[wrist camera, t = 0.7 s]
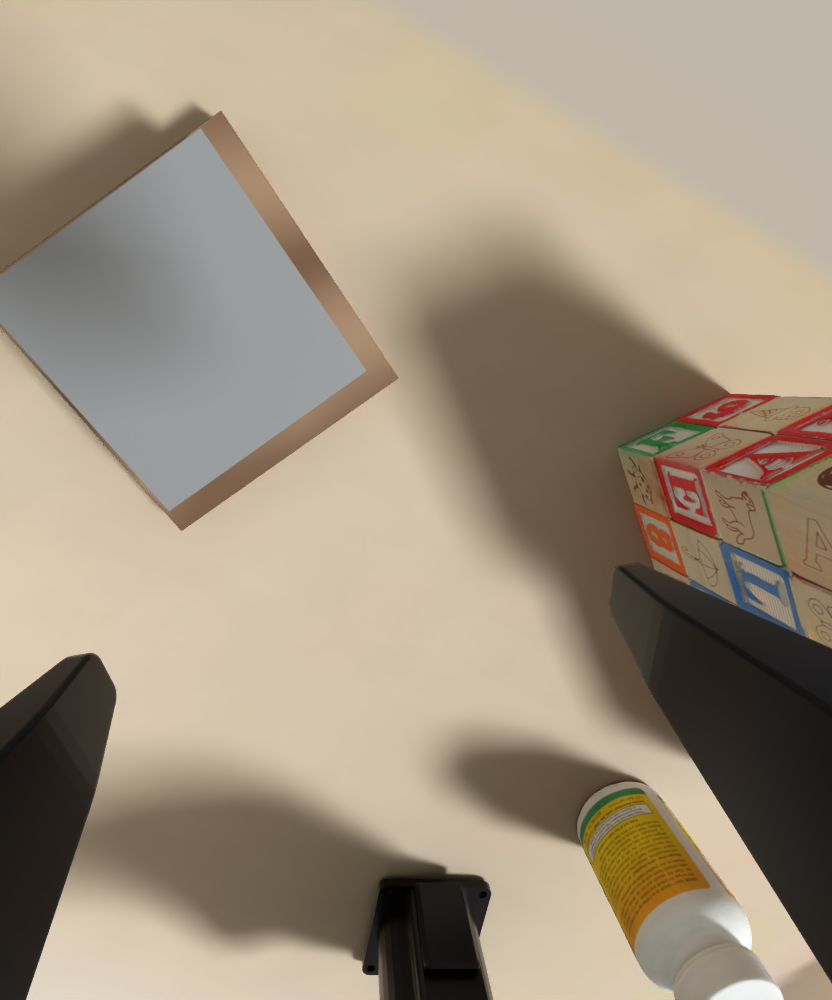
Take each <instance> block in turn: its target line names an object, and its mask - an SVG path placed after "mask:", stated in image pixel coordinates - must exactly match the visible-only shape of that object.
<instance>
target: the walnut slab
mask: <svg viewBox="0 0 832 1000" xmlns="http://www.w3.org/2000/svg"><path fill="white" fill-rule="evenodd" d="M200 128H201V130H202V131H203V132H204V134H205V135H206V137H207V138H208V140H209V141H210V143H211V144H212V146H213V147H214V149H215V150H216V151H217V153H218V154H219V156H220V157H221V159H222V160H223V162H224V163H225V165H226V166H227V168H228V169H229V170H230V172H231V173H232V175H233V176H234V178H235V179H236V181H237V182H238V184H239V185H240V187H241V188H242V189H243V191H244V192H245V194H246V195H247V197H248V198H249V200H250V201H251V203H252V204H253V206H254V207H255V208H256V210H257V211H258V213H259V214H260V216H261V217H262V219H263V220H264V222H265V223H266V225H267V226H268V227H269V229H270V230H271V232H272V233H273V235H274V236H275V238H276V239H277V241H278V242H279V244H280V245H281V246H282V248H283V249H284V251H285V252H286V254H287V255H288V257H289V258H290V260H291V261H292V263H293V264H294V265H295V267H296V268H297V270H298V271H299V273H300V274H301V276H302V277H303V279H304V280H305V282H306V283H307V284H308V286H309V287H310V289H311V290H312V292H313V293H314V295H315V296H316V298H317V299H318V301H319V302H320V303H321V305H322V306H323V308H324V309H325V311H326V312H327V314H328V315H329V317H330V318H331V320H332V321H333V322H334V324H335V325H336V327H337V328H338V330H339V331H340V333H341V334H342V336H343V337H344V339H345V340H346V341H347V343H348V344H349V346H350V347H351V349H352V350H353V352H354V353H355V355H356V356H357V358H358V359H359V360H360V362H361V363H362V365H363V366H364V368H365V369H366V372H364V373H363V374H362V375H360V376H359V377H357V378H356V379H355V380H353V381H352V382H350V383H349V384H348V385H346V386H345V387H343V388H342V389H340V390H339V391H338V392H336V393H335V394H333V395H332V396H331V397H329V398H328V399H326V400H325V401H324V402H322V403H321V404H319V405H318V406H317V407H315V408H314V409H312V410H311V411H310V412H308V413H307V414H305V415H304V416H303V417H301V418H300V419H298V420H297V421H295V422H294V423H293V424H291V425H290V426H288V427H287V428H286V429H284V430H283V431H281V432H280V433H279V434H277V435H276V436H274V437H273V438H272V439H270V440H269V441H267V442H266V443H265V444H263V445H262V446H260V447H259V448H258V449H256V450H255V451H253V452H252V453H250V454H249V455H248V456H246V457H245V458H243V459H242V460H241V461H239V462H238V463H236V464H235V465H234V466H232V467H231V468H229V469H228V470H227V471H225V472H224V473H222V474H221V475H220V476H218V477H217V478H215V479H214V480H213V481H211V482H210V483H208V484H207V485H205V486H204V487H203V488H201V489H200V490H198V491H197V492H196V493H194V494H193V495H191V496H190V497H189V498H187V499H186V500H184V501H183V502H182V503H180V504H179V505H177V506H176V507H175V508H173V509H172V510H170V511H168V510H167V509H166V508H165V506H164V505H163V504H162V503H161V502H160V501H159V500H158V499H157V498H156V496H155V495H154V494H153V493H152V492H151V491H150V490H149V489H148V487H147V486H146V485H145V484H144V483H143V482H142V481H141V480H140V479H139V477H138V476H137V475H136V474H135V473H134V472H133V471H132V470H131V468H130V467H129V466H128V465H127V464H126V463H125V462H124V461H123V460H122V458H121V457H120V456H119V455H118V454H117V453H116V452H115V451H114V450H113V448H112V447H111V446H110V445H109V444H108V443H107V442H106V441H105V439H104V438H103V437H102V436H101V435H100V434H99V433H98V432H97V431H96V429H95V428H94V427H93V426H92V425H91V424H90V423H89V422H88V420H87V419H86V418H85V417H84V416H83V415H82V414H81V413H80V412H79V410H78V409H77V408H76V407H75V406H74V405H73V404H72V403H71V401H70V400H69V399H68V398H67V397H66V396H65V395H64V394H63V393H62V391H61V390H60V389H59V388H58V387H57V386H56V385H55V384H54V382H53V381H52V380H51V379H50V378H49V377H48V376H47V375H46V374H45V372H44V371H43V370H42V369H41V368H40V367H39V366H38V365H37V363H36V362H35V361H34V360H33V359H32V358H31V357H30V356H29V355H28V353H27V352H26V351H25V350H24V349H23V348H22V347H21V346H20V344H19V343H18V342H17V341H16V340H15V339H14V338H13V337H12V336H11V334H10V333H9V332H8V331H7V330H6V329H5V328H4V327H3V325H2V324H1V323H0V327H1V328H2V329H3V330H4V331H5V332H6V333H7V334H8V336H9V337H10V338H11V339H12V340H13V341H14V342H15V343H16V345H17V346H18V347H19V348H20V349H21V350H22V351H23V353H24V354H25V355H26V356H27V357H28V358H29V359H30V360H31V362H32V363H33V364H34V365H35V366H36V367H37V368H38V369H39V371H40V372H41V373H42V374H43V375H44V376H45V377H46V378H47V380H48V381H49V382H50V383H51V384H52V385H53V386H54V388H55V389H56V390H57V391H58V392H59V393H60V394H61V395H62V397H63V398H64V399H65V400H66V401H67V402H68V403H69V404H70V406H71V407H72V408H73V409H74V410H75V411H76V412H77V414H78V415H79V416H80V417H81V418H82V419H83V420H84V421H85V423H86V424H87V425H88V426H89V427H90V428H91V429H92V430H93V432H94V433H95V434H96V435H97V436H98V437H99V438H100V440H101V441H102V442H103V443H104V444H105V445H106V446H107V447H108V449H109V450H110V451H111V452H112V453H113V454H114V455H115V456H116V458H117V459H118V460H119V461H120V462H121V463H122V464H123V465H124V467H125V468H126V469H127V470H128V471H129V472H130V473H131V475H132V476H133V477H134V478H135V479H136V480H137V481H138V482H139V484H140V485H141V486H142V487H143V488H144V489H145V490H146V491H147V493H148V494H149V495H150V496H151V497H152V498H153V499H154V501H155V502H156V503H157V504H158V505H159V506H160V507H161V508H162V510H163V511H164V512H165V513H166V514H167V515H168V516H169V517H170V519H171V520H172V521H173V522H174V523H175V524H176V525H177V526H178V528H179V529H180V530H181V531H182V530H184V529H185V528H186V527H188V526H189V525H191V524H192V523H194V522H195V521H196V520H198V519H199V518H201V517H202V516H203V515H205V514H206V513H208V512H209V511H211V510H212V509H213V508H215V507H216V506H218V505H219V504H221V503H222V502H223V501H225V500H226V499H228V498H229V497H230V496H232V495H233V494H235V493H236V492H238V491H239V490H240V489H242V488H243V487H245V486H246V485H248V484H249V483H250V482H252V481H253V480H255V479H256V478H257V477H259V476H260V475H262V474H263V473H265V472H266V471H267V470H269V469H270V468H272V467H273V466H274V465H276V464H277V463H279V462H280V461H282V460H283V459H284V458H286V457H287V456H289V455H290V454H292V453H293V452H294V451H296V450H297V449H299V448H300V447H301V446H303V445H304V444H306V443H307V442H309V441H310V440H311V439H313V438H314V437H316V436H317V435H319V434H320V433H321V432H323V431H324V430H326V429H327V428H328V427H330V426H331V425H333V424H334V423H336V422H337V421H338V420H340V419H341V418H343V417H344V416H346V415H347V414H348V413H350V412H351V411H353V410H354V409H355V408H357V407H358V406H360V405H361V404H363V403H364V402H365V401H367V400H368V399H370V398H371V397H372V396H374V395H375V394H377V393H378V392H380V391H381V390H382V389H384V388H385V387H387V386H388V385H390V384H391V383H392V382H394V381H395V380H397V379H398V377H397V375H396V374H395V372H394V371H393V369H392V368H391V366H390V365H389V363H388V362H387V360H386V359H385V357H384V356H383V354H382V353H381V351H380V350H379V348H378V346H377V345H376V343H375V342H374V340H373V339H372V337H371V336H370V334H369V333H368V331H367V330H366V328H365V327H364V325H363V324H362V322H361V321H360V319H359V318H358V316H357V315H356V313H355V312H354V310H353V309H352V307H351V306H350V304H349V303H348V301H347V300H346V298H345V297H344V295H343V294H342V292H341V291H340V289H339V288H338V286H337V285H336V283H335V282H334V280H333V279H332V277H331V276H330V274H329V273H328V271H327V270H326V268H325V267H324V265H323V264H322V262H321V261H320V259H319V258H318V256H317V255H316V253H315V252H314V250H313V249H312V247H311V246H310V244H309V242H308V241H307V239H306V238H305V236H304V235H303V233H302V232H301V230H300V229H299V227H298V226H297V224H296V223H295V221H294V220H293V218H292V217H291V215H290V214H289V212H288V211H287V209H286V208H285V206H284V205H283V203H282V202H281V200H280V199H279V197H278V196H277V194H276V193H275V191H274V190H273V188H272V187H271V185H270V184H269V182H268V181H267V179H266V178H265V176H264V175H263V173H262V172H261V170H260V169H259V167H258V166H257V164H256V163H255V161H254V160H253V158H252V157H251V155H250V154H249V152H248V151H247V149H246V148H245V146H244V145H243V143H242V142H241V140H240V138H239V137H238V135H237V134H236V132H235V131H234V129H233V128H232V126H231V125H230V123H229V122H228V120H227V119H226V117H225V116H224V114H223V113H222V111H220V112H218V113H217V114H216V115H214V116H213V117H212V118H210V119H209V120H207V121H206V122H205V123H203V124H202V125H201V126H199V127H198V128H197V129H195V130H194V131H192V132H191V133H190V134H188V135H187V136H186V137H184V138H183V139H181V140H180V141H179V142H177V143H176V144H175V145H173V146H172V147H171V148H169V149H168V150H166V151H165V152H164V153H162V154H161V155H160V156H158V157H157V158H156V159H154V160H153V161H151V162H150V163H149V164H147V165H146V166H145V167H143V168H142V169H141V170H139V171H138V172H136V173H135V174H134V175H132V176H131V177H130V178H128V179H127V180H125V181H124V182H123V183H121V184H120V185H119V186H117V187H116V188H115V189H113V190H112V191H110V192H109V193H108V194H106V195H105V196H104V197H102V198H101V199H100V200H98V201H97V202H95V203H94V204H93V205H91V206H90V207H89V208H87V209H86V210H84V211H83V212H82V213H80V214H79V215H78V216H76V217H75V218H74V219H72V220H71V221H69V222H68V223H67V224H65V225H64V226H63V227H61V228H60V229H59V230H57V231H56V232H54V233H53V234H52V235H50V236H49V237H48V238H46V239H45V240H43V241H42V242H41V243H39V244H38V245H37V246H35V247H34V248H33V249H31V250H30V251H28V252H27V253H26V254H24V255H23V256H22V257H20V258H19V259H18V260H16V261H15V262H13V263H12V264H11V265H9V266H8V267H7V268H5V269H4V270H3V271H1V272H0V275H1V274H3V273H4V272H5V271H7V270H8V269H10V268H11V267H12V266H14V265H15V264H16V263H18V262H19V261H20V260H22V259H23V258H24V257H26V256H27V255H29V254H30V253H31V252H33V251H34V250H35V249H37V248H38V247H39V246H41V245H42V244H43V243H45V242H46V241H48V240H49V239H50V238H52V237H53V236H54V235H56V234H57V233H58V232H60V231H61V230H63V229H64V228H65V227H67V226H68V225H69V224H71V223H72V222H73V221H75V220H76V219H77V218H79V217H80V216H82V215H83V214H84V213H86V212H87V211H88V210H90V209H91V208H92V207H94V206H95V205H97V204H98V203H99V202H101V201H102V200H103V199H105V198H106V197H107V196H109V195H110V194H111V193H113V192H114V191H116V190H117V189H118V188H120V187H121V186H122V185H124V184H125V183H126V182H128V181H129V180H130V179H132V178H133V177H135V176H136V175H137V174H139V173H140V172H141V171H143V170H144V169H145V168H147V167H148V166H150V165H151V164H152V163H154V162H155V161H156V160H158V159H159V158H160V157H162V156H163V155H164V154H166V153H167V152H169V151H170V150H171V149H173V148H174V147H175V146H177V145H178V144H179V143H181V142H182V141H183V140H185V139H186V138H188V137H189V136H190V135H192V134H193V133H194V132H196V131H197V130H198V129H200Z"/></svg>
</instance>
